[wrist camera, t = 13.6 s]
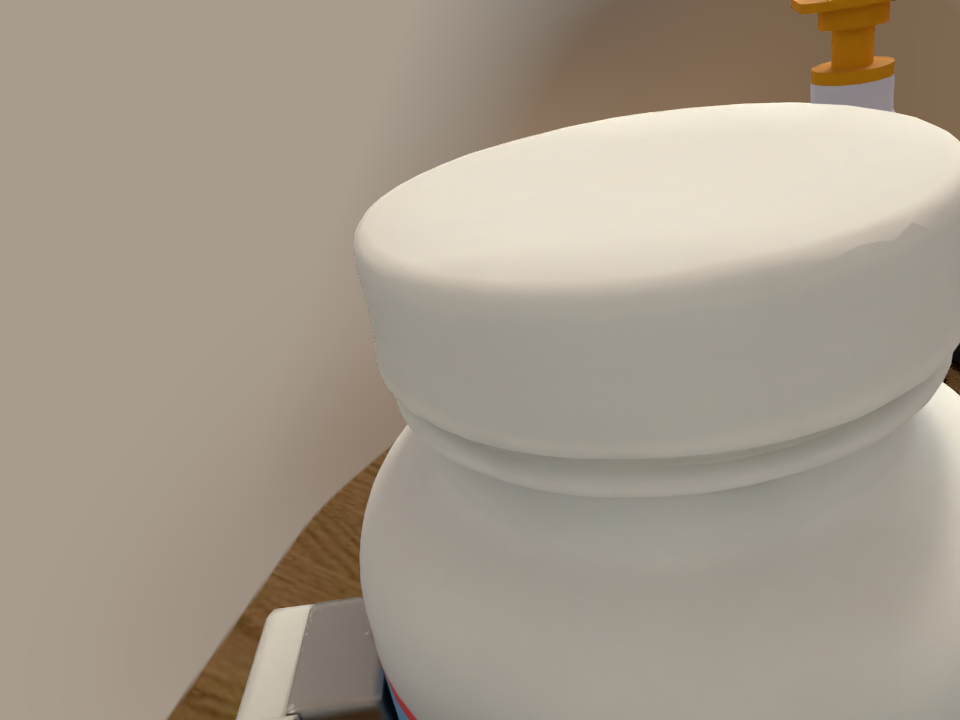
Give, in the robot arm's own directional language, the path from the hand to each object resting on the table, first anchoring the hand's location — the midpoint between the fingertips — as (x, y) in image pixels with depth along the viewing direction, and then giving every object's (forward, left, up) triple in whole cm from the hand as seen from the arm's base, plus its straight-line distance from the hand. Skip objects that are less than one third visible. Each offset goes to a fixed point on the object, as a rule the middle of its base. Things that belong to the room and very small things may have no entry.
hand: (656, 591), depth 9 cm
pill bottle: (0, -1, -6) cm, 6 cm away
